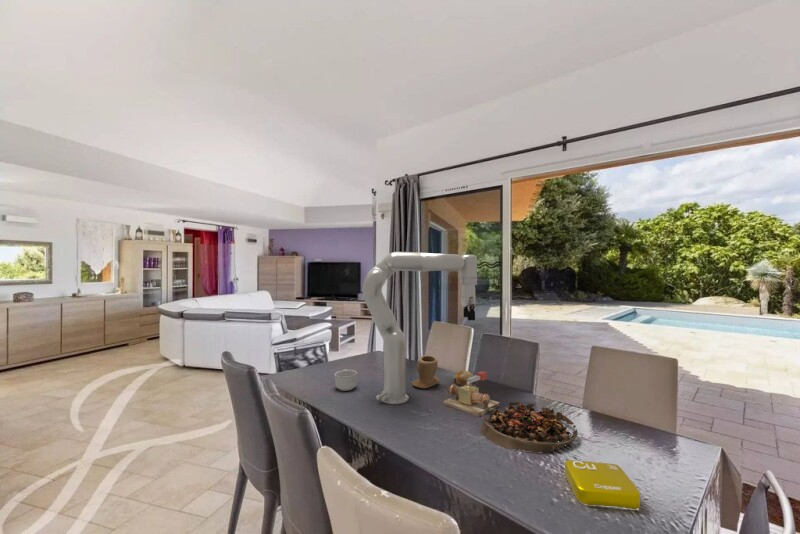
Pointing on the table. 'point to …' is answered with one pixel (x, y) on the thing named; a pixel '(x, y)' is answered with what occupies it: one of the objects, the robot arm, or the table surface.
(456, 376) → the bread roll
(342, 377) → the teacup
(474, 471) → the table surface
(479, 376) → the valve lever
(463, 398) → the valve pipe
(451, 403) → the beige board
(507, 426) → the food dish
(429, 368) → the stone cup
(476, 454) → the table surface
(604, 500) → the element tile
